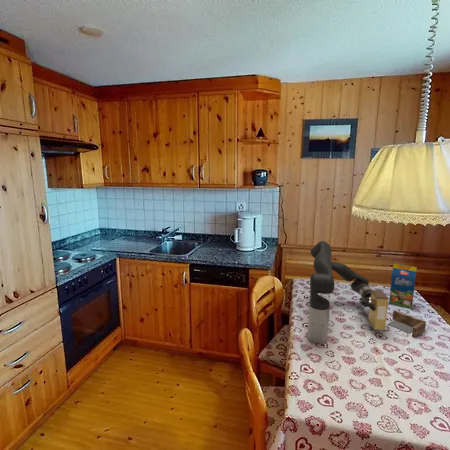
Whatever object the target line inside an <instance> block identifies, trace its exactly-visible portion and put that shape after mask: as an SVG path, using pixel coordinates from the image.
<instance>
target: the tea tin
mask: <svg viewBox="0 0 450 450" xmlns="http://www.w3.org/2000/svg"><path fill="white" fill-rule="evenodd" d="M370 301H371V304H373V306H374V307H375V309H374V311H373V310H371V309H370V308H369V311H368V312H369V313H368V322H369V323H370V324H371V326H372V328H373V329H374V330H384V331H385V330H386V327H387V315H388V308H389V296H388V295H387V294H386V293H385V292H384V291H383V290H381V289H373V290H371V298H370ZM387 307H388V308H387Z"/></svg>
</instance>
